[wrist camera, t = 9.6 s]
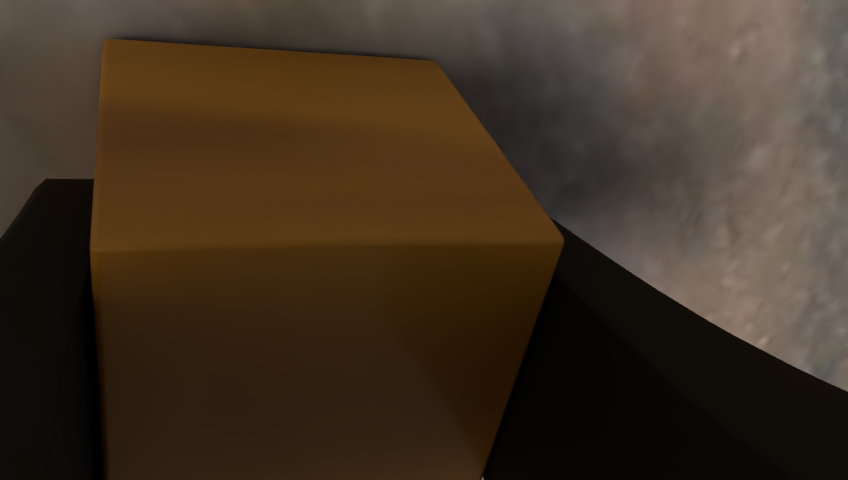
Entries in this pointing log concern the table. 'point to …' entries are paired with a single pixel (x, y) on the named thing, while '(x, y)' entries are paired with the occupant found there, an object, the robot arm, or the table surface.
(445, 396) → the block
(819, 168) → the table surface
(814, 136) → the table surface
